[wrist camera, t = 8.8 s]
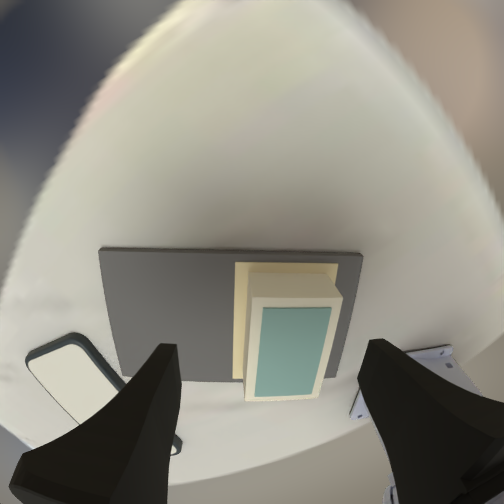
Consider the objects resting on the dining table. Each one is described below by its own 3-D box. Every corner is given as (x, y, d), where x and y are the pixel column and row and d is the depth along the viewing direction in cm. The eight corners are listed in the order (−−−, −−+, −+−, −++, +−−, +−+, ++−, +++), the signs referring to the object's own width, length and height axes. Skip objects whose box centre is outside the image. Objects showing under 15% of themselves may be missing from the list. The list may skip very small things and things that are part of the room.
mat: (360, 253, 20) (364, 256, 19) (333, 372, 23) (335, 378, 23) (101, 247, 18) (97, 251, 18) (124, 371, 22) (122, 376, 21)
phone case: (26, 350, 22) (124, 453, 27) (18, 360, 20) (121, 463, 25) (84, 323, 21) (188, 442, 26) (77, 334, 19) (187, 454, 25)
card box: (308, 368, 22) (318, 399, 19) (242, 370, 22) (244, 402, 18) (326, 273, 19) (343, 298, 16) (248, 272, 19) (252, 298, 16)
